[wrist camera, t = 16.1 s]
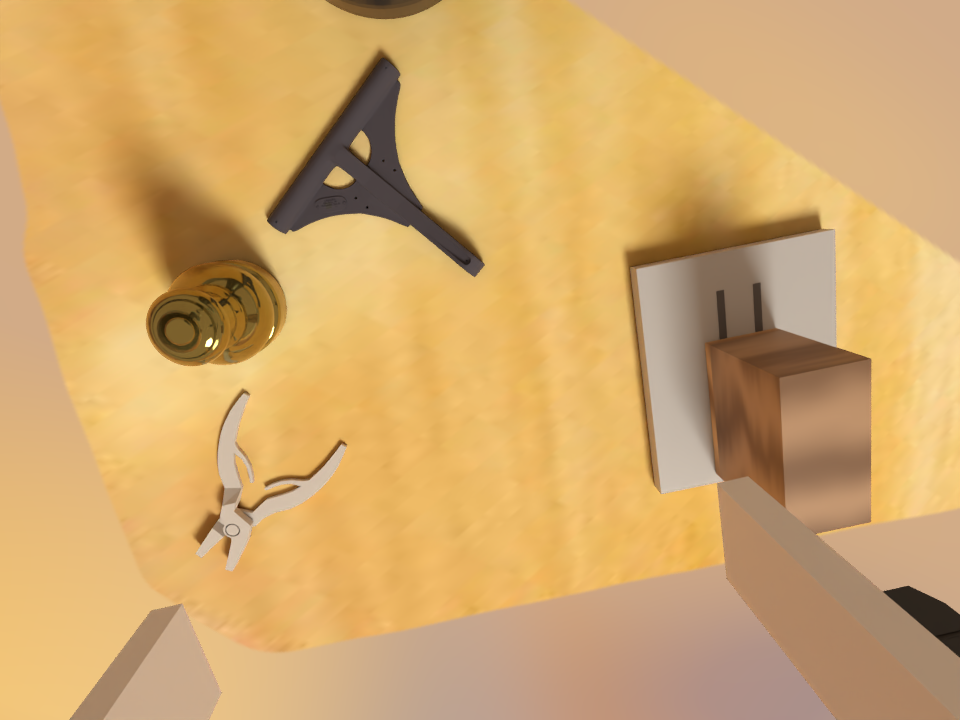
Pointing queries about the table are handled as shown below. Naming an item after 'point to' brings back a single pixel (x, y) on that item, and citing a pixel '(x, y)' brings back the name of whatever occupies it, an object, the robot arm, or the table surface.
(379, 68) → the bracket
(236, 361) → the brass door knob
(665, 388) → the board
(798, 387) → the block
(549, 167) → the table surface
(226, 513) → the pliers
